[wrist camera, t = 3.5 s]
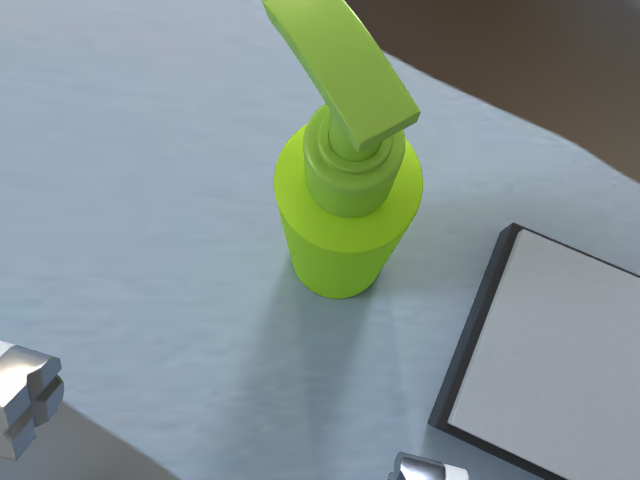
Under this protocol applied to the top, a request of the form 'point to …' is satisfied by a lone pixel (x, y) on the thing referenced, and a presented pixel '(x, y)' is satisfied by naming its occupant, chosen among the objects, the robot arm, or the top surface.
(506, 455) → the kitchen scale
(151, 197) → the top surface
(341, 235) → the soap dispenser
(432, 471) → the robot arm
